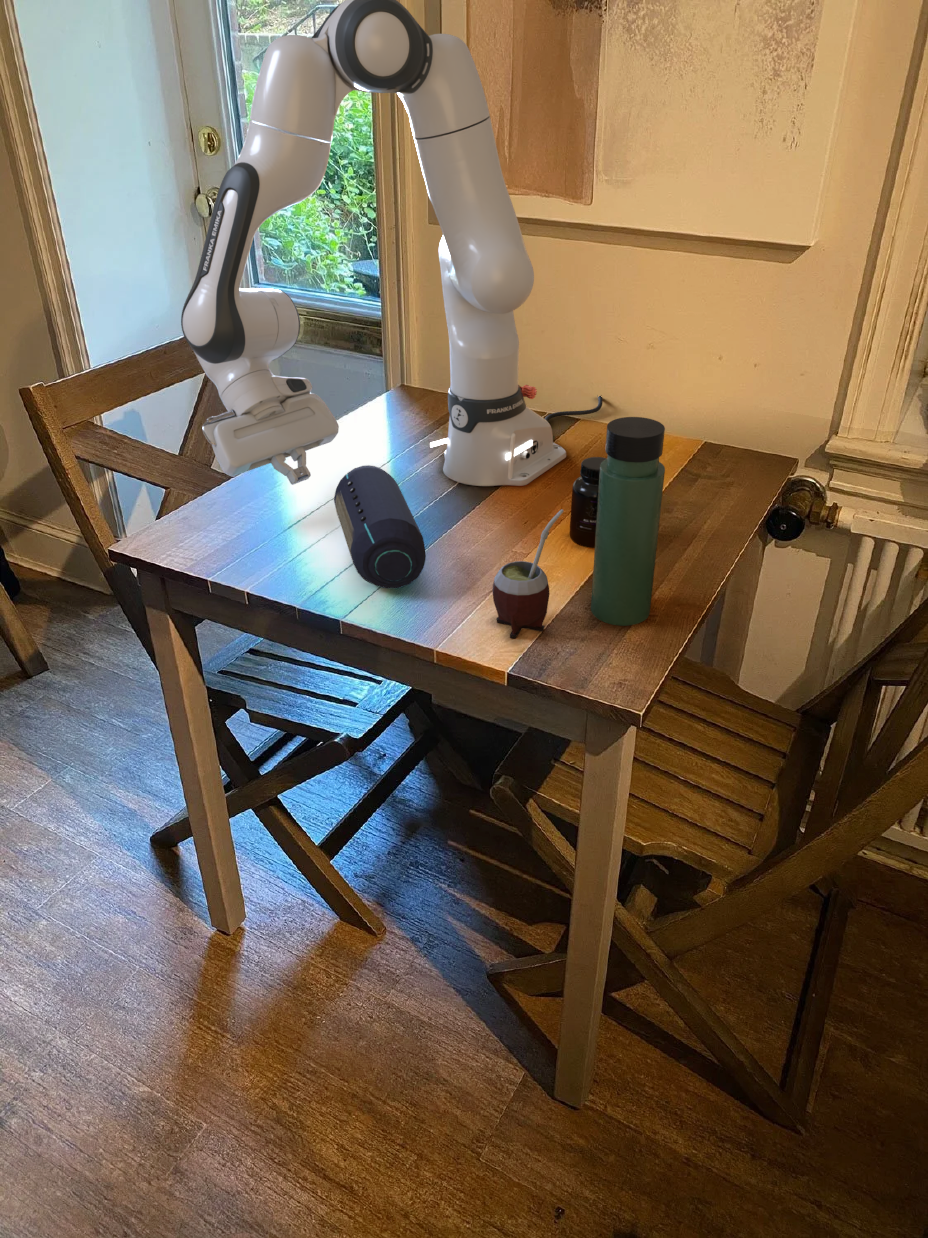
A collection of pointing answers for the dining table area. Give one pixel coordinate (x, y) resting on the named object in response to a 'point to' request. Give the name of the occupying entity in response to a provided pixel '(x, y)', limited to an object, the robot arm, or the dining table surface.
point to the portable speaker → (379, 528)
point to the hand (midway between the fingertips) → (301, 480)
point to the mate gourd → (523, 591)
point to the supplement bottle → (585, 503)
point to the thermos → (628, 521)
